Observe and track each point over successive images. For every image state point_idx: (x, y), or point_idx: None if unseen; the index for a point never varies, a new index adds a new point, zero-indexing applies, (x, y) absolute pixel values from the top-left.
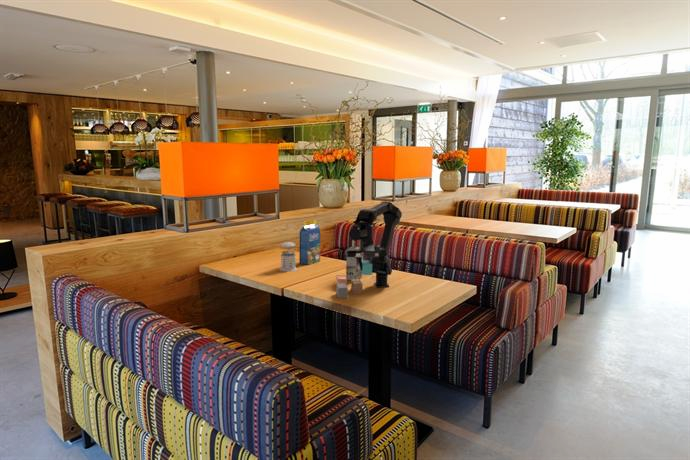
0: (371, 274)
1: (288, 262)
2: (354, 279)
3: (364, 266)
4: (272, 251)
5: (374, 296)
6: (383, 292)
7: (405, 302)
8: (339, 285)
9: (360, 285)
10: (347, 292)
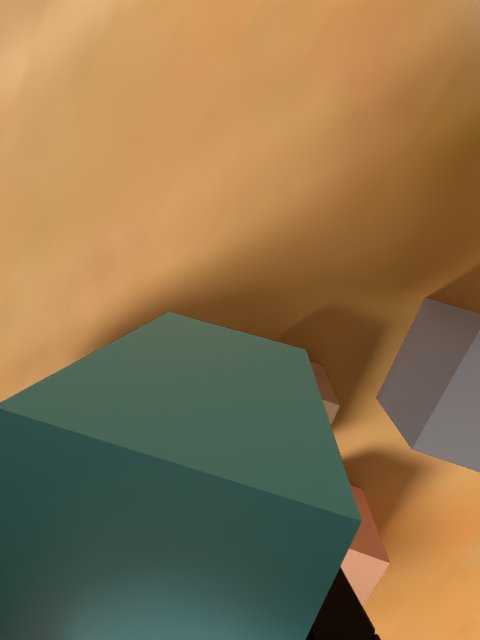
0: (176, 314)
1: None
2: None
3: (312, 439)
4: None
5: (216, 253)
6: (120, 305)
7: (62, 17)
8: None
9: None
10: (455, 306)
